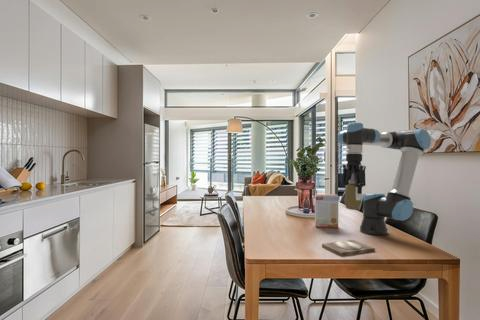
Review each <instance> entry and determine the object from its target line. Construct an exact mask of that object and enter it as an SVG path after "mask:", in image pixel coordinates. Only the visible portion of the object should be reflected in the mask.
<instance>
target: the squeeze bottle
mask: <svg viewBox="0 0 480 320" xmlns="http://www.w3.org/2000/svg"><path fill="white" fill-rule="evenodd" d="M347 183H349V184H348V185H346V192H345V191H344V192H345V193H344V200H343V202H344V205H345V208H346V210H347V209H348V210H354V211H355V210H359V209H360V208H361V205H362V199H361V200H356V186H357V184H356V179H355V174H354V173H352V177H351V180H348V182H347Z"/></svg>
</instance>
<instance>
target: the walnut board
mask: <svg viewBox="0 0 480 320" xmlns="http://www.w3.org/2000/svg"><path fill="white" fill-rule="evenodd" d="M321 247H322V248H324V249H325V250H327V251H330V252H332V253H333V254H336V255H338V256H340V257H344V256H350V255H358V254H365V253H373V252H376V248H375V247H374V246H370V245H368V244H365V243H364V242H360V241H357V240H355V239H351V240H349V239H348V240H342V241H334V242H325V243H322V244H321Z"/></svg>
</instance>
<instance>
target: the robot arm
mask: <svg viewBox="0 0 480 320" xmlns="http://www.w3.org/2000/svg"><path fill="white" fill-rule="evenodd" d="M337 142H339V144H342V145H346V148H345V149H346V152H345V153H346V155H345V161H346V162H347V163H346V164H343V165H342V179H341V180H342V181H341V183H342V184H343V185H344V192H346V185H348V184H349V183H348V180H351V177H352V173H354V174H355V179H356V184H357V186H356V200H361V201H362V212H363V213H362V220H361V225H360V226H359V231H360V232H361V233H364V234H367V235H372V236H373V235H375V236H383V235H384V236H386V235H388V234H389V231H388V227H387V224H386V220H385V218H386V219H387V218H389V219H392V220H395V221H406V220H408V219H409V218H410V217H411V216H412V214H413V212H414V204H413V202H412V199H411V197H410V195H409V194H410V191H411V186H412V184H413V180H414V176H415V173H416V169H417V165H418V161H419V158H420V156H422V155H424V151H426V150H428V149H430V147H431V145H432V144H431V143H432V141H431V135H430V133H429V132H428V131H427V130H426V129H425V128H424V129H421V128H416V129H407V130H398V131H397V130H396V131H391V132H390V131H389V132H386V131H385V132H382V133H380V131H379V130H377V129H375V128H369V127H368V128H367V127H364V124H363V123H362V122H349V123H348V124H347V127H346V130H341V131H340V132H339V133H338V134H337ZM363 146H377V147H378V146H379V147H381V148H383V149H392V150H399V151H400V152H401V155H400V160H399V162H398V166H397V170H396V174H395V178H394V181H393V184H392V188H391V190H390V191H388V192H387V194H385V193H366V194H363V200H362V192H363V187H366V184H367V183H366V168H367V166H366V165H362V163H361V162H362V161H363Z"/></svg>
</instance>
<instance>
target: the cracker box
mask: <svg viewBox="0 0 480 320" xmlns="http://www.w3.org/2000/svg"><path fill="white" fill-rule="evenodd" d="M314 227H315V228H324V229H325V228H327V229H329V228H332V229H338V228H339V195H338V194H336V193H331V194H330V193H329V194H328V193H315V194H314Z"/></svg>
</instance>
